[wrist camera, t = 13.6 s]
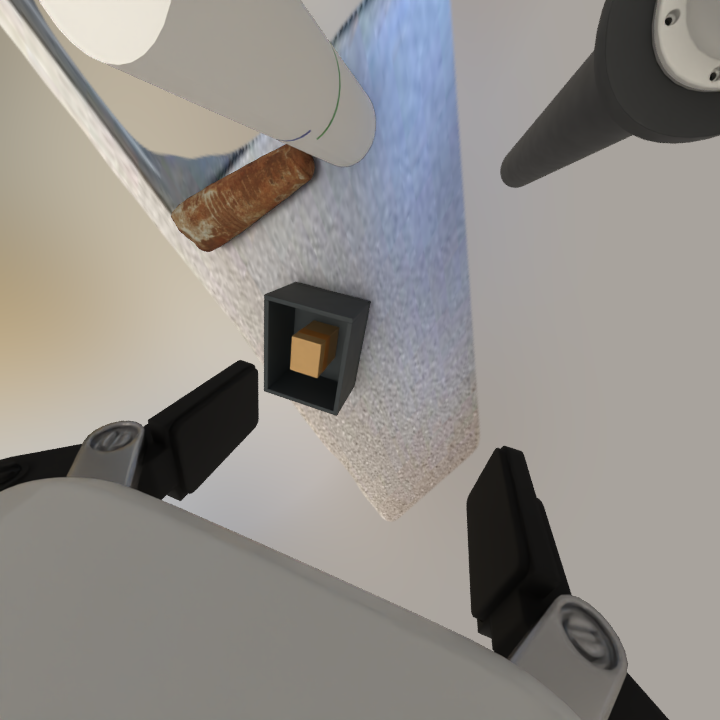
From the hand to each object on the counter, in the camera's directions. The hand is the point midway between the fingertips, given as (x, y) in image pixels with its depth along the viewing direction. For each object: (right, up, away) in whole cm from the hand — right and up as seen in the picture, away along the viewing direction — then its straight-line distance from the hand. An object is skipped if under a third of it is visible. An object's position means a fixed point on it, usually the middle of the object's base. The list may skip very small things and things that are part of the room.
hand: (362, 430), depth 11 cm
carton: (-5, +6, +31) cm, 32 cm away
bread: (-13, +24, +26) cm, 38 cm away
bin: (-5, +6, +32) cm, 33 cm away
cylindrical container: (-2, +28, +20) cm, 34 cm away
